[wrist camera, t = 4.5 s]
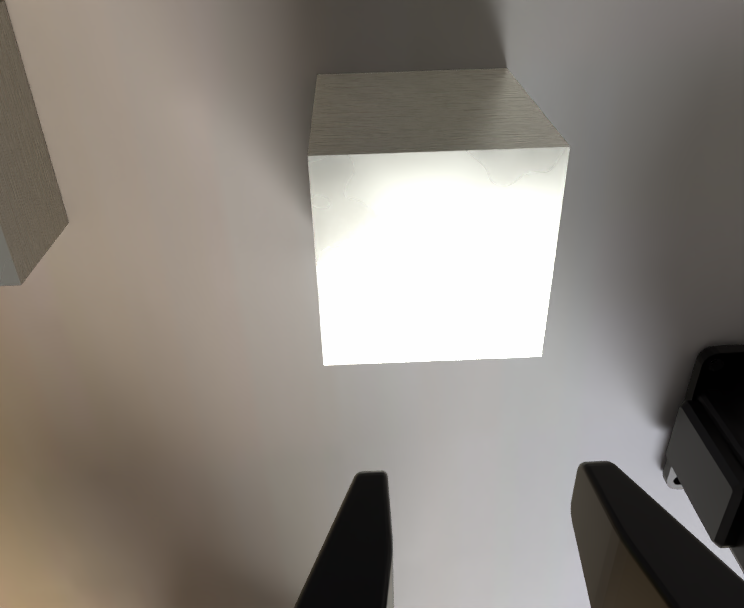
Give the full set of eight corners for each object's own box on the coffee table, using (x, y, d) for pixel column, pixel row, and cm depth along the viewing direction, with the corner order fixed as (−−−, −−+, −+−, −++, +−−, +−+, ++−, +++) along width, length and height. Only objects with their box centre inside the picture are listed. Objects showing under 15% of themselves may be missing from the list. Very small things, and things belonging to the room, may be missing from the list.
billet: (506, 67, 18) (570, 146, 13) (492, 236, 21) (541, 356, 16) (317, 73, 18) (307, 156, 13) (328, 242, 21) (323, 365, 16)
